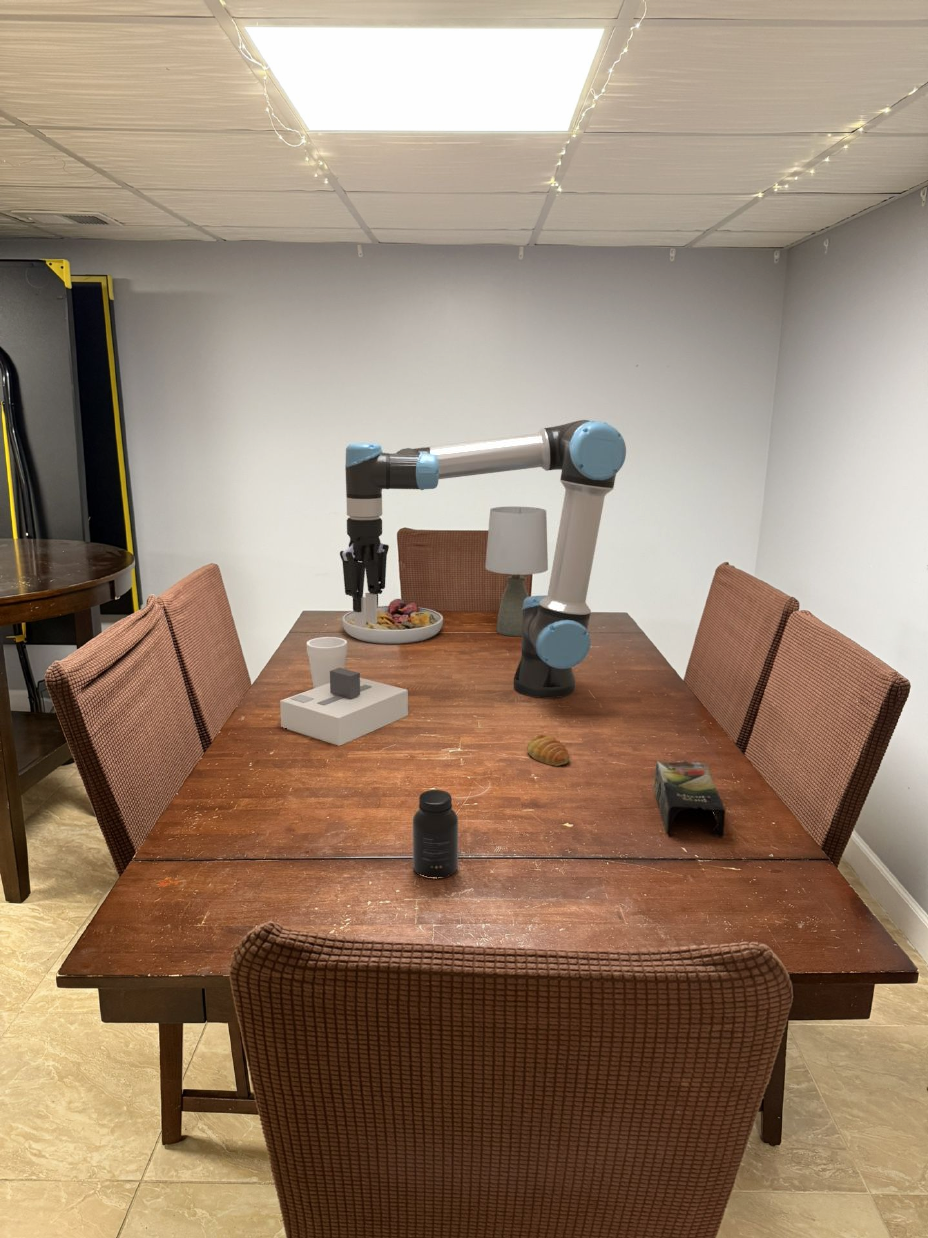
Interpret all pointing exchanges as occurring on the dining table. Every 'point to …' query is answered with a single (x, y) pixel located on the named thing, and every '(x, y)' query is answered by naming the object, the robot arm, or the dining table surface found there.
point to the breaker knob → (345, 682)
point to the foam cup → (325, 658)
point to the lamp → (516, 558)
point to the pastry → (547, 750)
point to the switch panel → (343, 711)
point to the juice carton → (686, 792)
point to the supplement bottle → (435, 835)
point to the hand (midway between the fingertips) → (365, 623)
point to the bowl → (396, 624)
